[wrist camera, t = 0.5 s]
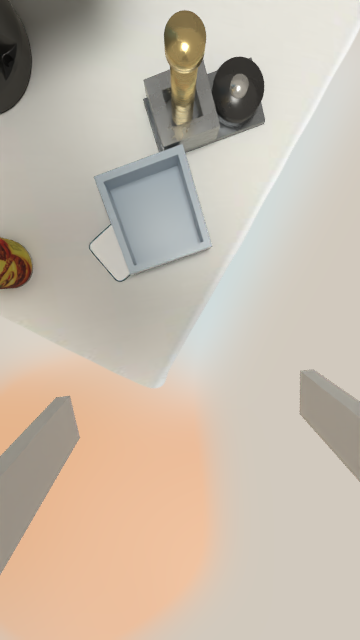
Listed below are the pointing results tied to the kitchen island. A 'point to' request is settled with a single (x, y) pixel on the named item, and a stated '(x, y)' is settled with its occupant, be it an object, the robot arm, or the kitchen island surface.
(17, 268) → the canned food
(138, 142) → the kitchen island surface
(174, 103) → the lock pin
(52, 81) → the kitchen island surface
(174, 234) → the tray
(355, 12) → the kitchen island surface
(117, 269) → the smartphone
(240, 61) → the tensioner
